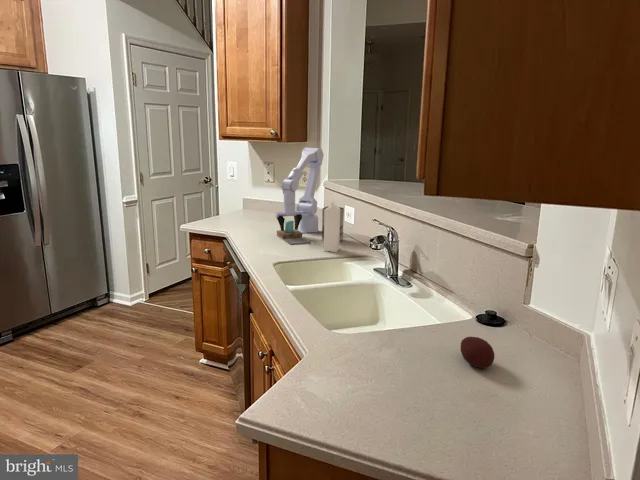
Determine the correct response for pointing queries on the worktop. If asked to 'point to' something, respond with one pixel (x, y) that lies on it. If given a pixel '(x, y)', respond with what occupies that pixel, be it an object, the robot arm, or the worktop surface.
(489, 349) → the potato
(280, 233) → the socket block
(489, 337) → the worktop surface
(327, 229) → the milk
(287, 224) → the plug
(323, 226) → the coffee box
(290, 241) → the mat
